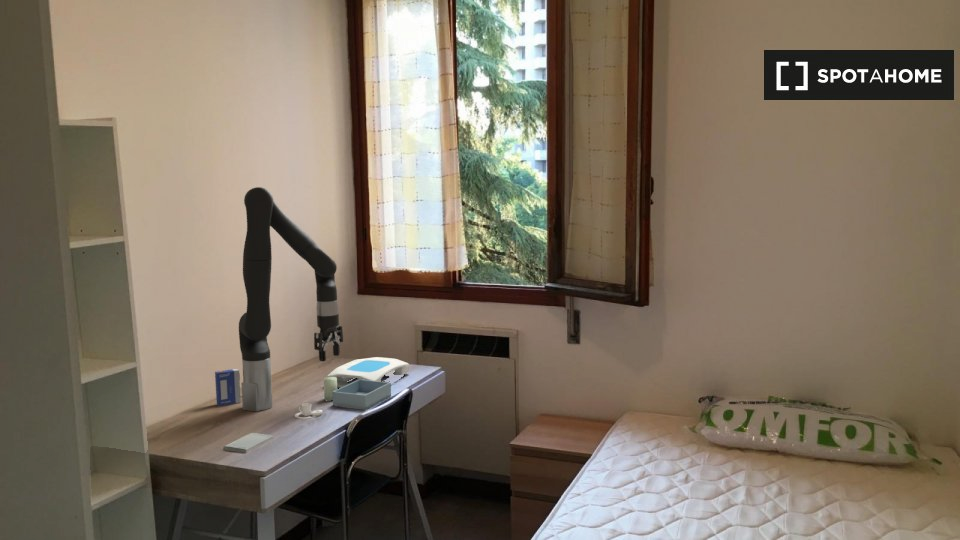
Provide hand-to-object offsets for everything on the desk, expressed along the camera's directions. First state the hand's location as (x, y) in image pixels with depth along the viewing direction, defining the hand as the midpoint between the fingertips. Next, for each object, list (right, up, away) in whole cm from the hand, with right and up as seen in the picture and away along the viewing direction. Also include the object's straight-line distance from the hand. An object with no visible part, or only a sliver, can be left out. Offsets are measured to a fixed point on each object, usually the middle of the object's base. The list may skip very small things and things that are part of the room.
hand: (329, 358), depth 260 cm
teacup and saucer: (-3, -18, -19) cm, 26 cm away
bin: (+12, -15, -1) cm, 19 cm away
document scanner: (+10, -12, +25) cm, 30 cm away
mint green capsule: (0, -15, +2) cm, 15 cm away
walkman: (-35, -16, -2) cm, 39 cm away
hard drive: (-15, -21, -42) cm, 50 cm away
